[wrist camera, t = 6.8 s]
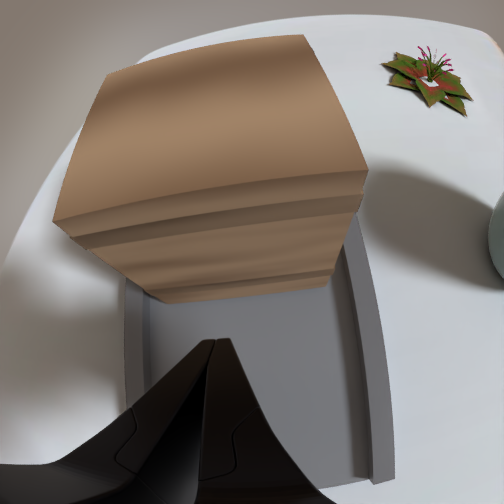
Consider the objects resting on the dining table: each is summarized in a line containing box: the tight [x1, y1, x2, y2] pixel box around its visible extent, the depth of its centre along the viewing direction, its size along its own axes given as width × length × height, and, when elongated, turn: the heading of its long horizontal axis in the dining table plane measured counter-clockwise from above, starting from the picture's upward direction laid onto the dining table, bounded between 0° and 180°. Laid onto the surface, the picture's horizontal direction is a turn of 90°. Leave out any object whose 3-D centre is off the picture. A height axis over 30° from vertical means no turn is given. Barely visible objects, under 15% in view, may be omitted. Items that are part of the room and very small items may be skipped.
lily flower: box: [381, 46, 474, 116], centre depth 22 cm, size 12×12×5 cm
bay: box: [124, 48, 395, 489], centre depth 13 cm, size 24×14×9 cm, turn 5°
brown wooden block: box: [52, 35, 368, 304], centre depth 13 cm, size 8×9×10 cm
